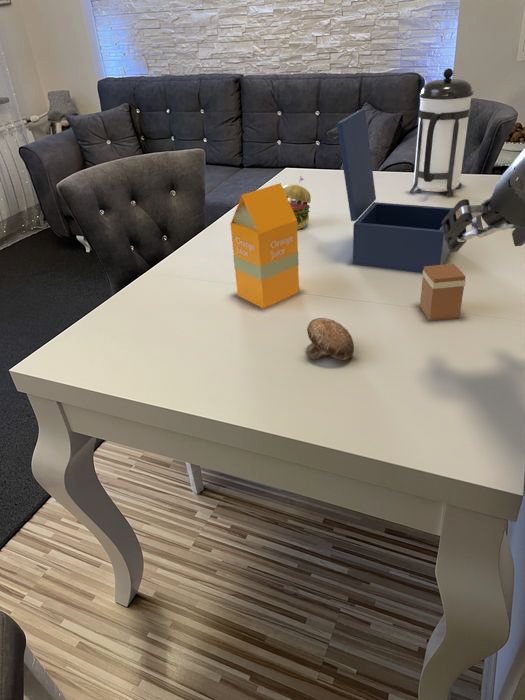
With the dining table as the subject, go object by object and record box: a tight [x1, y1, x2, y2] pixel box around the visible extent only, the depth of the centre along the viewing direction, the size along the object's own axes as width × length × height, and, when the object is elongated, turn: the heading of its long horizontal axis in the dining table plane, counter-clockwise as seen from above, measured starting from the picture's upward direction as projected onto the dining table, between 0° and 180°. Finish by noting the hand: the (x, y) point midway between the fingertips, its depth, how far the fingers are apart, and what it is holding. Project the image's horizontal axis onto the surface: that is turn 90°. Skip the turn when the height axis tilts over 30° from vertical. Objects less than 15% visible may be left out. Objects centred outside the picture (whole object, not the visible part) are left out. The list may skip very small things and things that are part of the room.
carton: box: [419, 263, 466, 322], centre depth 88 cm, size 5×5×8 cm
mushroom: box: [306, 317, 355, 361], centre depth 80 cm, size 8×8×6 cm
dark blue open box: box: [352, 201, 454, 274], centre depth 108 cm, size 17×14×9 cm
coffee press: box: [409, 68, 474, 198], centre depth 137 cm, size 17×16×30 cm
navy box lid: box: [326, 108, 377, 222], centre depth 105 cm, size 18×14×5 cm
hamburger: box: [282, 175, 312, 231], centre depth 126 cm, size 8×7×12 cm
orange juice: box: [230, 183, 300, 309], centre depth 94 cm, size 8×9×20 cm
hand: (483, 242), depth 71 cm, fingers open, 8 cm apart
